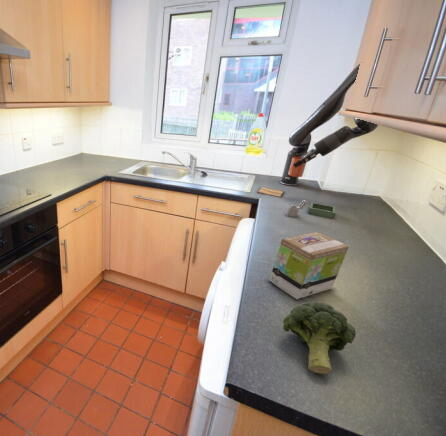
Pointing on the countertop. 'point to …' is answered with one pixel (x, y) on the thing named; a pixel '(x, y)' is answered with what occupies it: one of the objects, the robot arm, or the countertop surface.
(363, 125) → the robot arm
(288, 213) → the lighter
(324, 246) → the tea box
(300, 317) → the vegetable
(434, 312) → the countertop surface
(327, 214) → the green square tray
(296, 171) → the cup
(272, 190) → the coaster
